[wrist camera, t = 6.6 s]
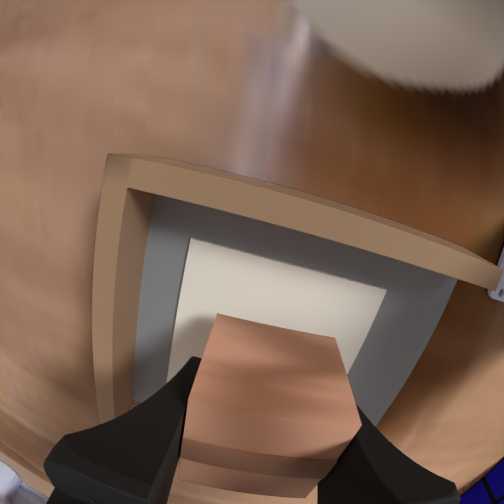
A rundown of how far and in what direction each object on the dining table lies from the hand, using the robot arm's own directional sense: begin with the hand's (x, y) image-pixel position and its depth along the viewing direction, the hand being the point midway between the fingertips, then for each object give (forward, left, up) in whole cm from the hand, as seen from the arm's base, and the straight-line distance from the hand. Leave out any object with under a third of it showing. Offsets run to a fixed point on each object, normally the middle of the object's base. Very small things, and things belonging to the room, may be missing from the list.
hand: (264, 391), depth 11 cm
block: (0, 0, -2) cm, 2 cm away
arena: (0, 0, -4) cm, 4 cm away
